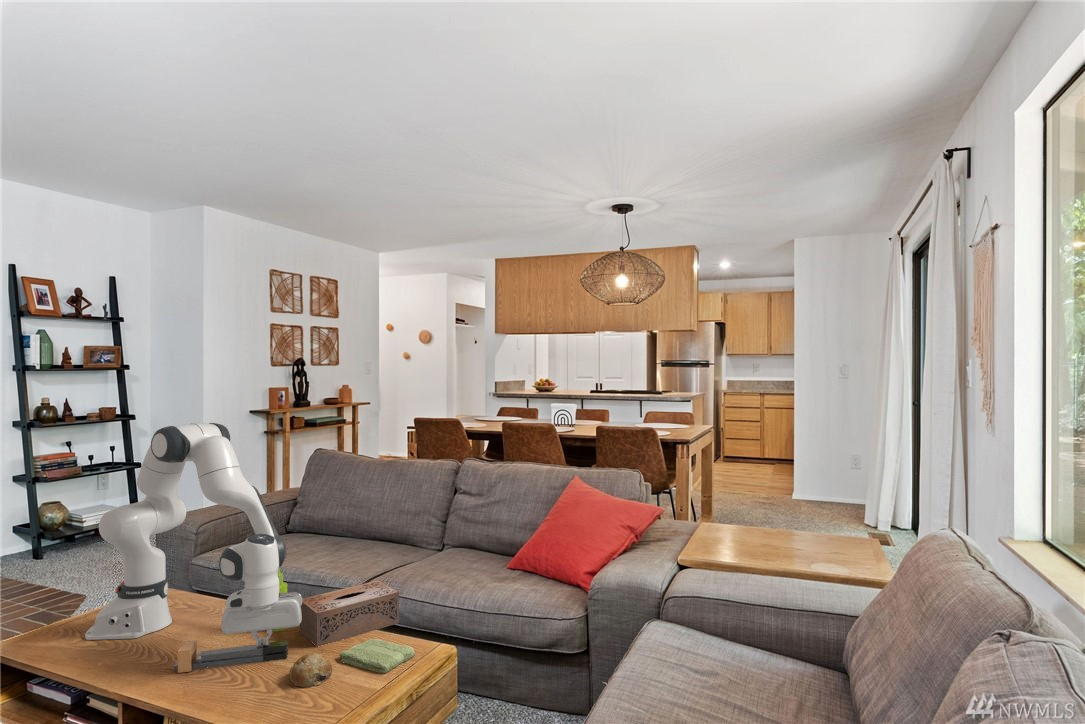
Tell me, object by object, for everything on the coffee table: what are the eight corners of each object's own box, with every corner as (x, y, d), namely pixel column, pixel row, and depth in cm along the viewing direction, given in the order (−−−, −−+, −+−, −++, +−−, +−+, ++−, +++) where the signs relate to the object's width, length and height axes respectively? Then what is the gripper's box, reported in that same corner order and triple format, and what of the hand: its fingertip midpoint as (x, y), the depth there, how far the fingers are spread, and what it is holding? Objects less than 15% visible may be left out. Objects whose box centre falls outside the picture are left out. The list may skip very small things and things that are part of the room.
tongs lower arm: (173, 672, 168) (173, 665, 168) (177, 666, 171) (177, 660, 171) (286, 659, 175) (286, 652, 175) (288, 653, 178) (287, 647, 178)
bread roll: (301, 704, 158) (310, 679, 156) (278, 677, 163) (286, 652, 161) (334, 687, 167) (342, 662, 165) (310, 662, 172) (318, 638, 170)
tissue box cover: (317, 648, 182) (316, 613, 182) (299, 632, 193) (299, 599, 193) (399, 623, 199) (398, 591, 199) (378, 610, 210) (378, 580, 210)
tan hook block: (178, 672, 167) (177, 651, 167) (184, 662, 173) (184, 641, 173) (190, 671, 168) (190, 649, 168) (197, 661, 174) (196, 640, 174)
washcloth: (371, 644, 185) (370, 633, 185) (417, 657, 176) (417, 645, 176) (335, 663, 173) (335, 651, 173) (384, 678, 165) (383, 665, 165)
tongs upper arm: (195, 662, 169) (194, 656, 169) (198, 656, 173) (198, 651, 173) (286, 651, 175) (286, 645, 175) (288, 645, 178) (287, 640, 178)
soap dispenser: (281, 621, 201) (281, 558, 201) (290, 627, 196) (290, 562, 196) (262, 627, 197) (262, 562, 197) (271, 633, 192) (271, 567, 192)
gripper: (303, 587, 181) (304, 636, 181) (224, 594, 176) (225, 645, 176) (300, 595, 175) (301, 645, 175) (219, 603, 170) (220, 655, 170)
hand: (262, 645), depth 175 cm, fingers closed
